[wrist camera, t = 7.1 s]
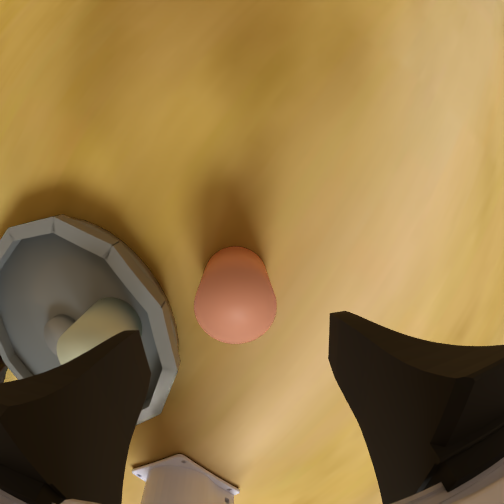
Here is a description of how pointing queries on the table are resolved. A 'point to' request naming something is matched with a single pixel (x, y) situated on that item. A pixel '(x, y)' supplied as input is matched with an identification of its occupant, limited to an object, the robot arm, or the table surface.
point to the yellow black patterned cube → (2, 370)
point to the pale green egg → (97, 327)
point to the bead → (235, 297)
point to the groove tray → (78, 297)
